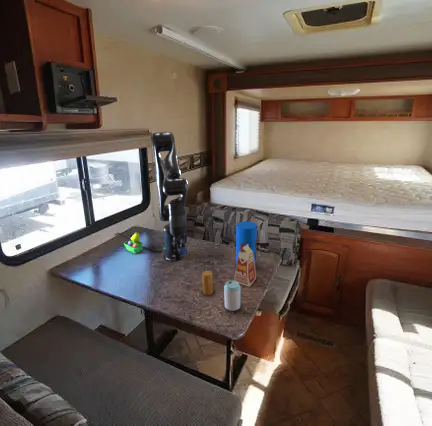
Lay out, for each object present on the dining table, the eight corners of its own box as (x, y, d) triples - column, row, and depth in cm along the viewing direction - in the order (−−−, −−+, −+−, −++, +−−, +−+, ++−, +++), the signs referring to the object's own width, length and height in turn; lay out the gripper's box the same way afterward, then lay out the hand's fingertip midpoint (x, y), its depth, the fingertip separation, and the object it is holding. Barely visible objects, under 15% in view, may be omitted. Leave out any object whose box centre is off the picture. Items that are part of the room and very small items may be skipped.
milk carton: (249, 286, 140) (250, 250, 133) (232, 281, 145) (232, 246, 138) (256, 277, 147) (257, 243, 140) (240, 273, 152) (240, 239, 145)
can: (222, 309, 125) (222, 286, 120) (227, 300, 131) (226, 278, 127) (238, 313, 122) (238, 289, 118) (242, 303, 128) (242, 280, 124)
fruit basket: (124, 250, 182) (121, 234, 178) (135, 245, 188) (133, 229, 185) (134, 255, 175) (132, 238, 171) (146, 250, 181) (144, 234, 178)
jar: (200, 292, 137) (199, 273, 134) (207, 287, 141) (206, 268, 137) (208, 296, 134) (207, 277, 130) (215, 291, 138) (215, 272, 134)
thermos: (233, 268, 157) (233, 227, 148) (240, 259, 165) (240, 220, 157) (252, 273, 152) (252, 230, 143) (258, 263, 161) (259, 223, 152)
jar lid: (184, 256, 126) (184, 252, 125) (172, 254, 127) (172, 251, 127) (188, 251, 131) (188, 247, 131) (177, 249, 133) (177, 246, 132)
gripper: (176, 216, 132) (178, 249, 138) (163, 228, 119) (167, 263, 125) (191, 217, 130) (193, 250, 136) (180, 230, 117) (183, 265, 123)
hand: (180, 256), depth 130 cm, fingers closed on jar lid, 5 cm apart
